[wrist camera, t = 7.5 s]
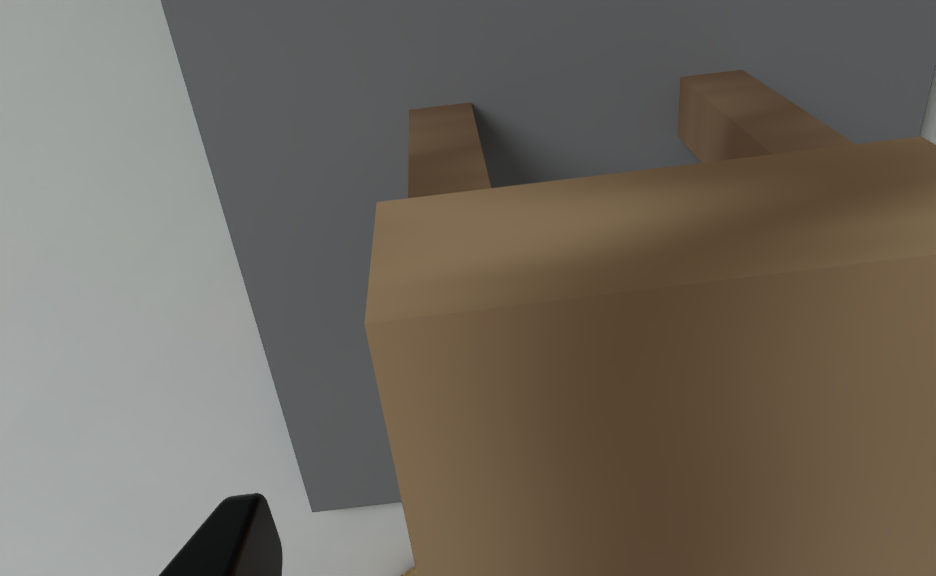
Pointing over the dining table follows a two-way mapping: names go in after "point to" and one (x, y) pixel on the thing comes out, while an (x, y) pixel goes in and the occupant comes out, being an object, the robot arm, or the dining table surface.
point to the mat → (500, 132)
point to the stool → (664, 352)
